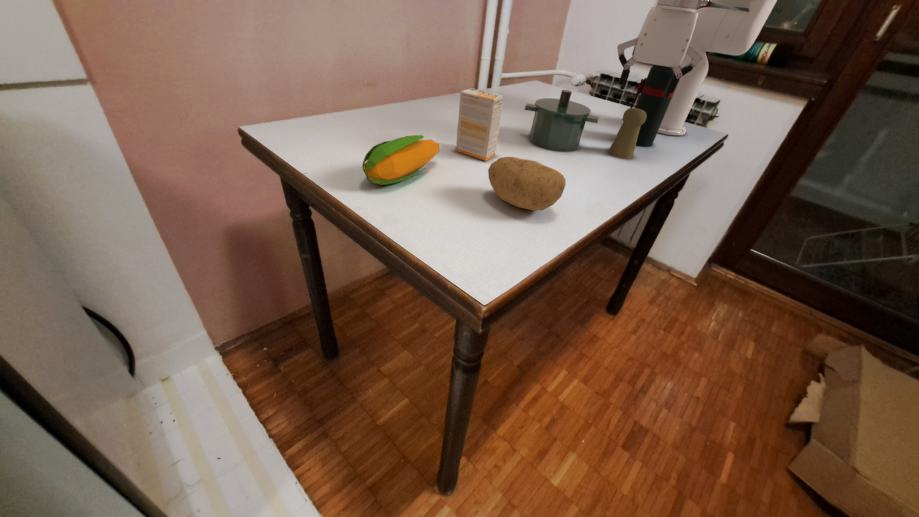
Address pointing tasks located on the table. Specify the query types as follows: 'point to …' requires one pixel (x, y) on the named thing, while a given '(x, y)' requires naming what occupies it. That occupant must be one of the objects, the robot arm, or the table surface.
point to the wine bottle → (653, 102)
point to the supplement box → (478, 123)
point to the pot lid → (563, 106)
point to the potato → (526, 183)
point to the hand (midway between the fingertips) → (643, 92)
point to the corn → (398, 159)
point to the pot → (557, 129)
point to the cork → (628, 134)
